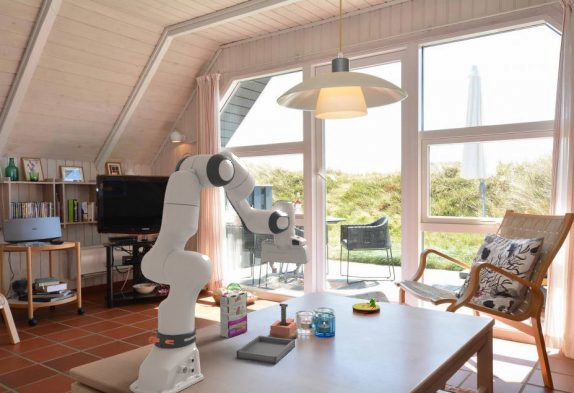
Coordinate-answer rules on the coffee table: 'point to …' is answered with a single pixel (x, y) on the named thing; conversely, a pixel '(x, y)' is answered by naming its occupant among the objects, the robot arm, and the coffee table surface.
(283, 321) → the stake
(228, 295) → the candy bar box
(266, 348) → the tray
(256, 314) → the coffee table surface
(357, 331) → the coffee table surface
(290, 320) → the orange hollow block
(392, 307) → the coffee table surface
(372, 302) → the toy character
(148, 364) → the robot arm
